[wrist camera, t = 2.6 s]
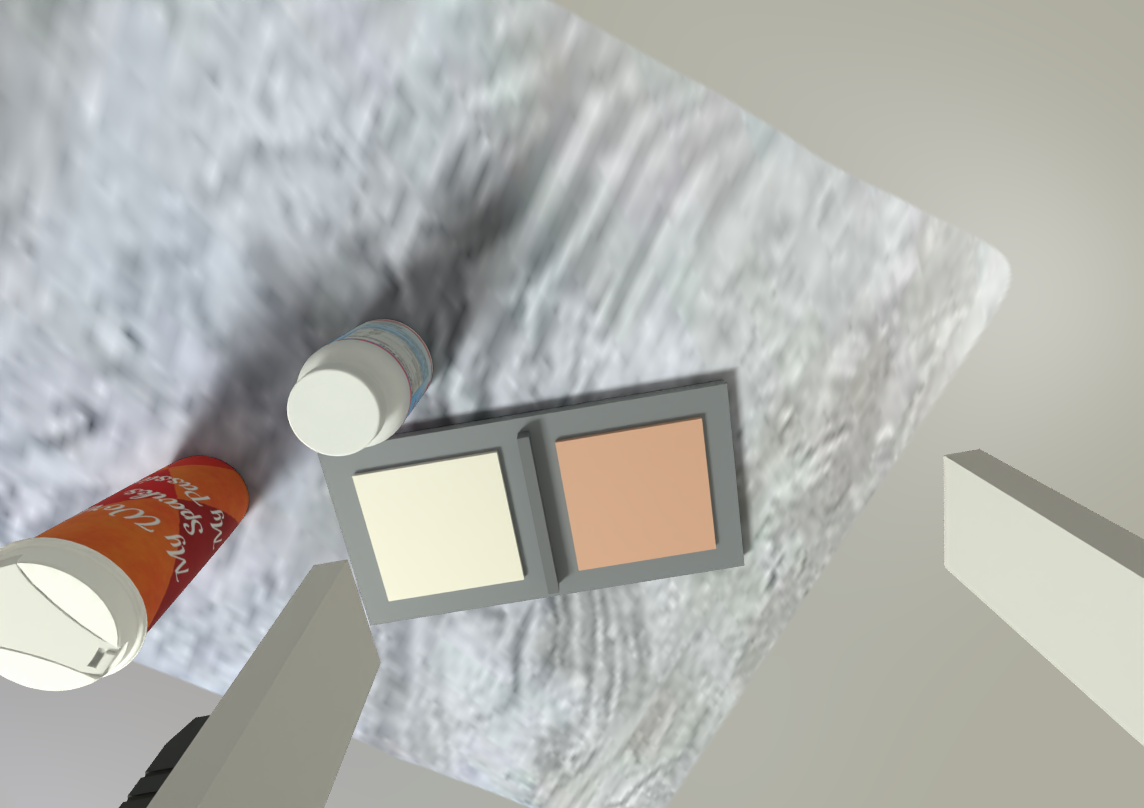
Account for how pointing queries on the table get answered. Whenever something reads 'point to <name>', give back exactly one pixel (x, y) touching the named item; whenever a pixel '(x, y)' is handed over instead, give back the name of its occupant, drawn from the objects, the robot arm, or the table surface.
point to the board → (541, 503)
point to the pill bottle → (359, 388)
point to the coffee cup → (111, 573)
